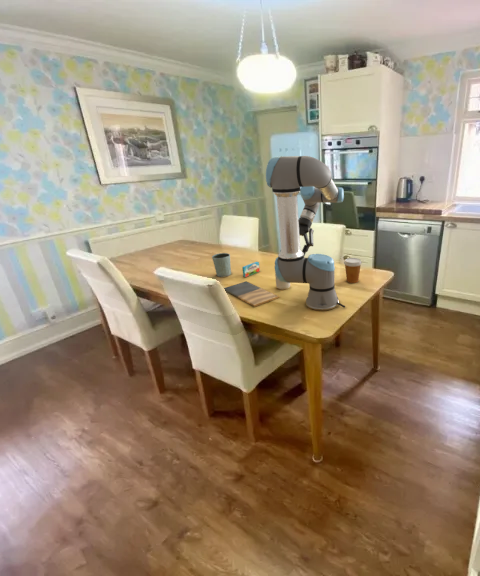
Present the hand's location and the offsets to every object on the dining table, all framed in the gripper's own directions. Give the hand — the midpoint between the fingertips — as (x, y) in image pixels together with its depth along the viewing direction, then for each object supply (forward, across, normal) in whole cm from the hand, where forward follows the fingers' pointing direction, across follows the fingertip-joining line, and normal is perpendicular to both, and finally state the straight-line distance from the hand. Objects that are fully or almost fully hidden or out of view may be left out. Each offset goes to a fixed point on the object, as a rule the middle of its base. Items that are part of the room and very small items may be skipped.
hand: (291, 254), depth 171 cm
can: (+18, -1, -3) cm, 18 cm away
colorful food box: (+15, +29, -9) cm, 34 cm away
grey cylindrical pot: (+21, +44, -2) cm, 48 cm away
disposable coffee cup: (0, -28, -23) cm, 37 cm away
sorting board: (+28, +9, +9) cm, 31 cm away
